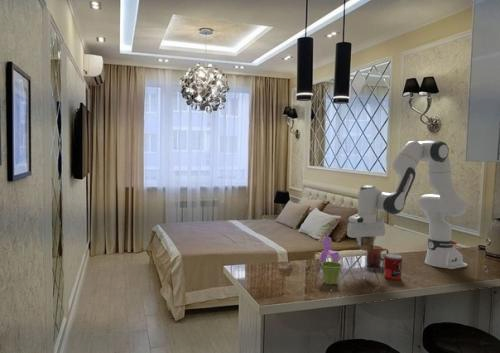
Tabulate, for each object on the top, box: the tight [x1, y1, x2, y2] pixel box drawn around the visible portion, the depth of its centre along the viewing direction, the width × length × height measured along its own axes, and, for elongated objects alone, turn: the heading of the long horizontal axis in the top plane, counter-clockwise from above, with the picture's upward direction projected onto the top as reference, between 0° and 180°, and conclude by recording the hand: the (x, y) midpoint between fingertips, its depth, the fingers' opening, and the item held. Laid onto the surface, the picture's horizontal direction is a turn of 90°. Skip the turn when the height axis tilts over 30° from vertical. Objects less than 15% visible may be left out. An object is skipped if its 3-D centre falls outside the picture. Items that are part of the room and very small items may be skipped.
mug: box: [365, 244, 390, 268], centre depth 211 cm, size 12×9×10 cm
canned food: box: [384, 253, 403, 281], centre depth 190 cm, size 8×8×11 cm
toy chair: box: [318, 236, 340, 265], centre depth 210 cm, size 8×9×15 cm
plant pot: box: [320, 261, 343, 285], centre depth 180 cm, size 9×9×9 cm
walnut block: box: [358, 236, 374, 252], centre depth 195 cm, size 5×5×6 cm
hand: (366, 245), depth 196 cm, fingers closed on walnut block, 5 cm apart
